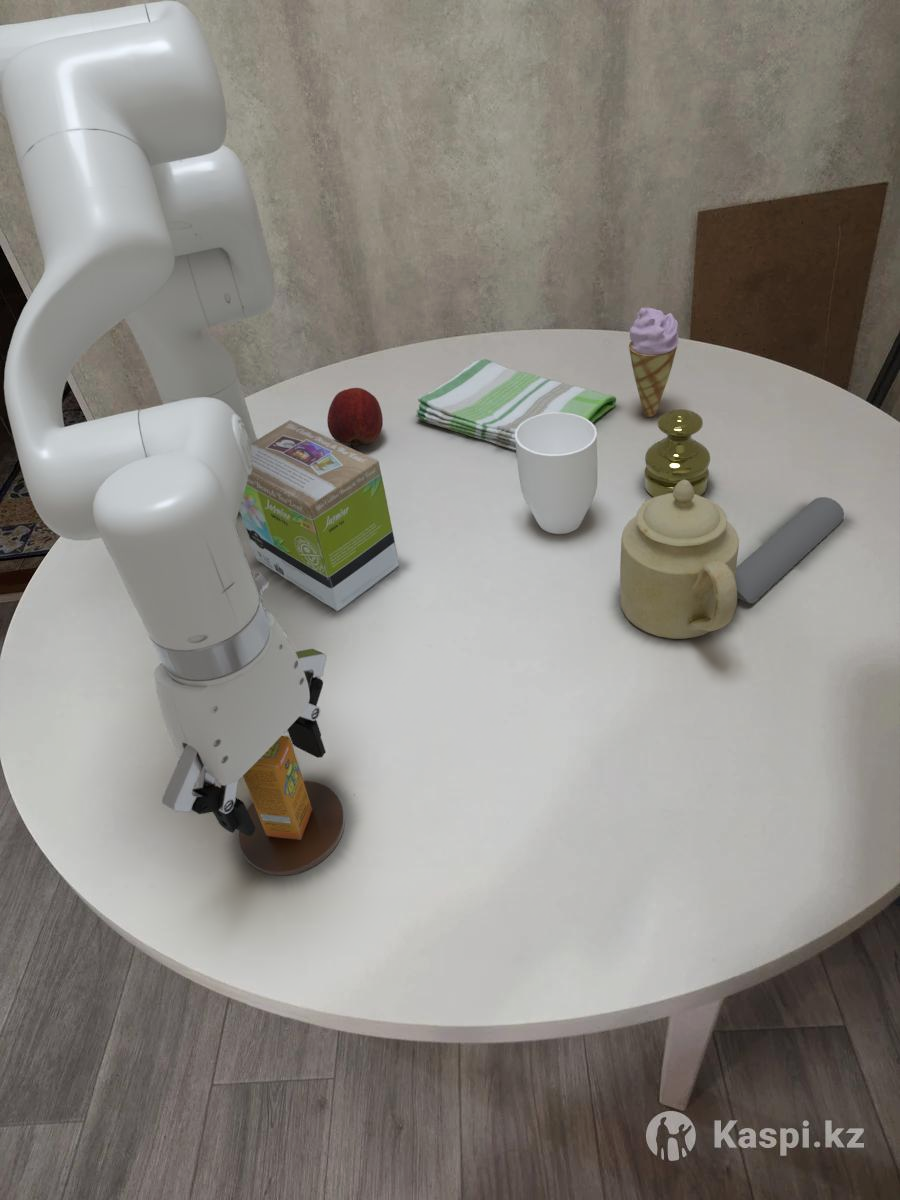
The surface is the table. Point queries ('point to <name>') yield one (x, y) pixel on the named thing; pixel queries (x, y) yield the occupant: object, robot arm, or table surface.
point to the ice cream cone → (652, 355)
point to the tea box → (318, 514)
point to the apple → (355, 417)
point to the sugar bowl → (679, 566)
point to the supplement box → (279, 791)
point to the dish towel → (504, 402)
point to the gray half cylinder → (786, 548)
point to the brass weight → (677, 455)
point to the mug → (557, 468)
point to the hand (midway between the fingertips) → (275, 786)
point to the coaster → (294, 853)
